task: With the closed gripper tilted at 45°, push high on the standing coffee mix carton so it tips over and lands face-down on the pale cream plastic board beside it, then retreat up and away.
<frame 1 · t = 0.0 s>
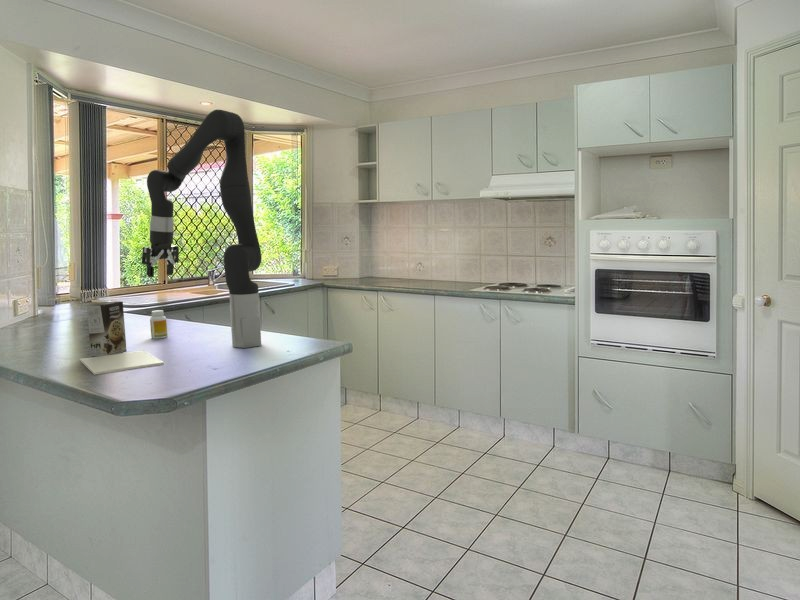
hand: (160, 275, 206), 22 cm above the countertop, tool pointing down, fingers open, 8 cm apart
cream board: (121, 362, 172), on the countertop
supplement bottle: (159, 338, 212), on the countertop
coffee box: (109, 354, 185), on the countertop
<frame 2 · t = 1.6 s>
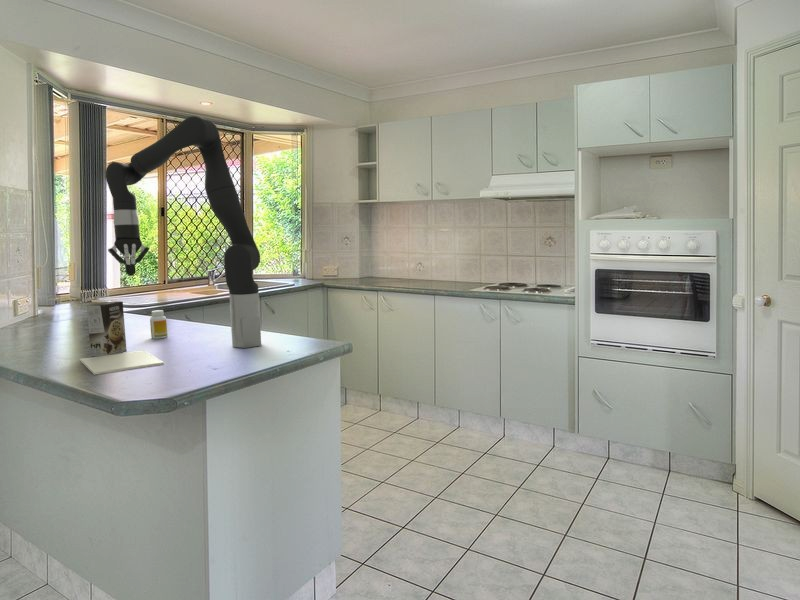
hand: (130, 275, 199), 23 cm above the countertop, tool pointing down, fingers closed
nothing on the countertop moved.
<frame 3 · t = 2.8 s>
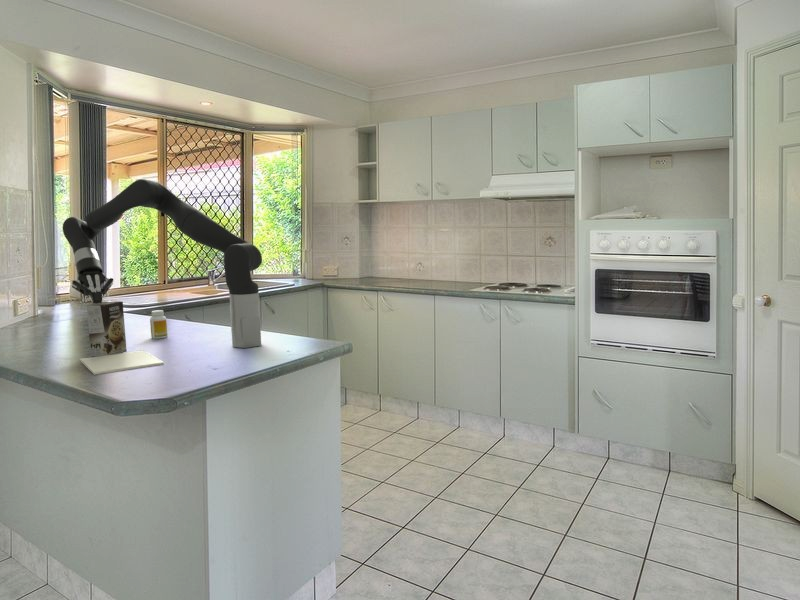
hand: (98, 303, 192), 15 cm above the countertop, tool tilted 45°, fingers closed
nothing on the countertop moved.
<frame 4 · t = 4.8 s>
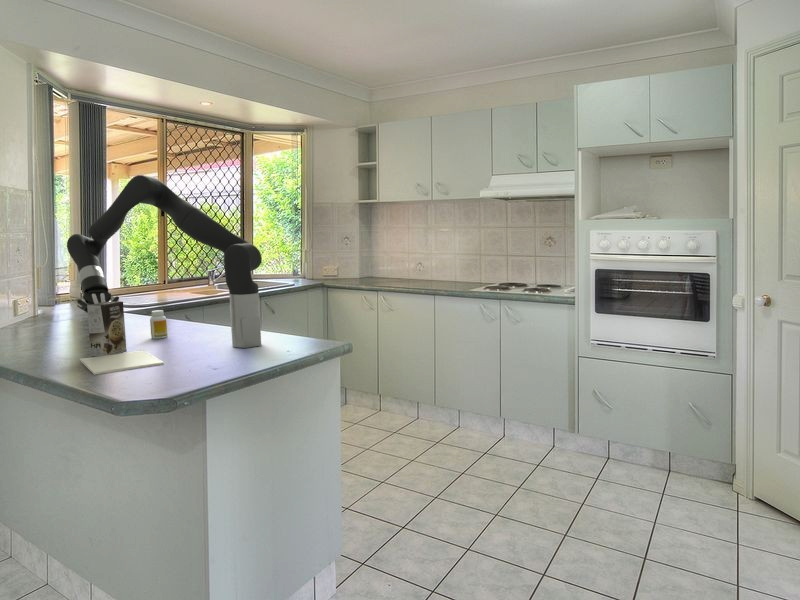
hand: (103, 322, 189), 9 cm above the countertop, tool tilted 45°, fingers closed
coffee box: (109, 354, 185), on the countertop, touching gripper
everything else where it was.
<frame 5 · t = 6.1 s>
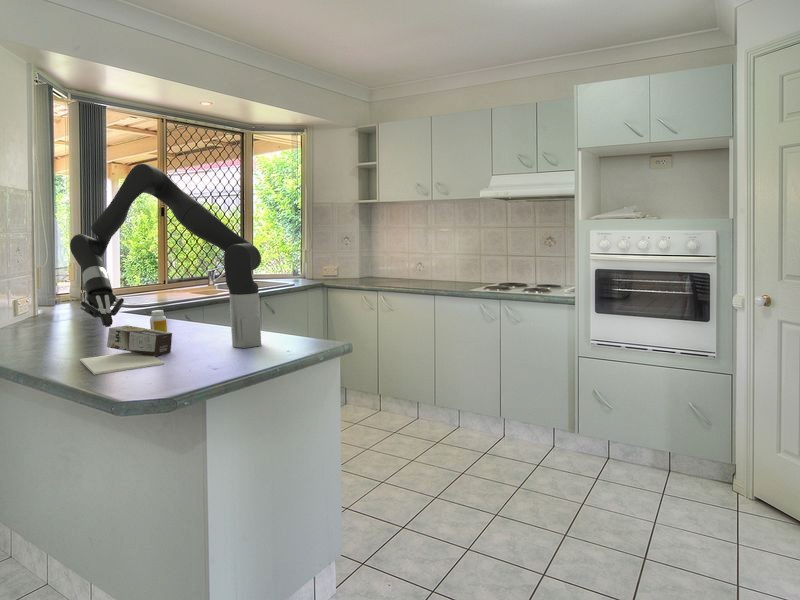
hand: (108, 325, 183), 9 cm above the countertop, tool tilted 45°, fingers closed
coffee box: (116, 336, 184), point 6 cm above the countertop, touching cream board
everything else where it was.
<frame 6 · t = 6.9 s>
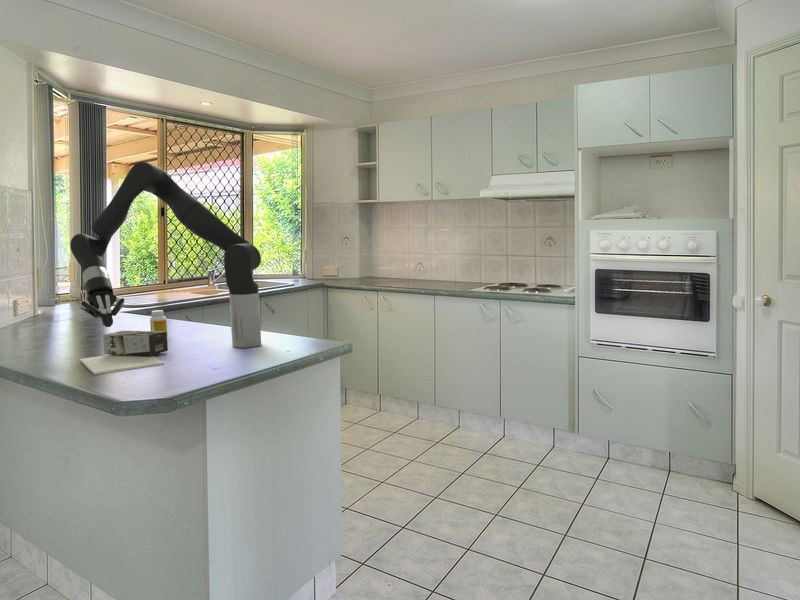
hand: (108, 325, 182), 9 cm above the countertop, tool tilted 45°, fingers closed
coffee box: (112, 342, 184), point 4 cm above the countertop, touching cream board
everything else where it was.
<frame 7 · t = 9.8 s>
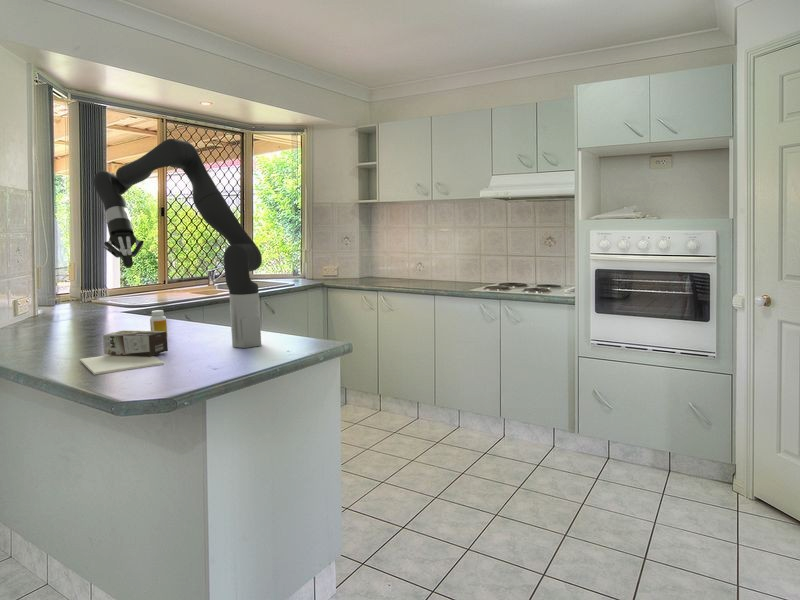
hand: (128, 266, 197), 26 cm above the countertop, tool tilted 30°, fingers closed
nothing on the countertop moved.
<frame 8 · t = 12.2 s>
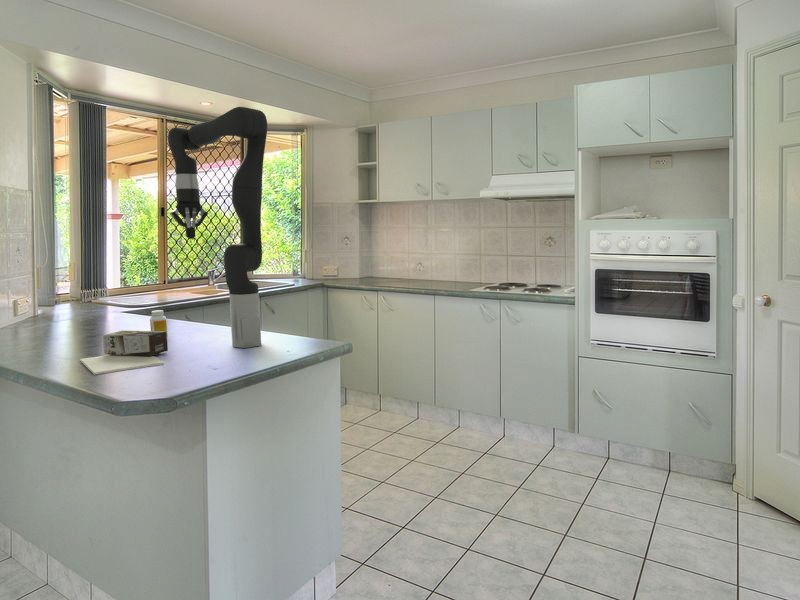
hand: (190, 238, 204), 35 cm above the countertop, tool pointing down, fingers closed
nothing on the countertop moved.
at the end: coffee box tilted 90°; coffee box touching cream board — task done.
